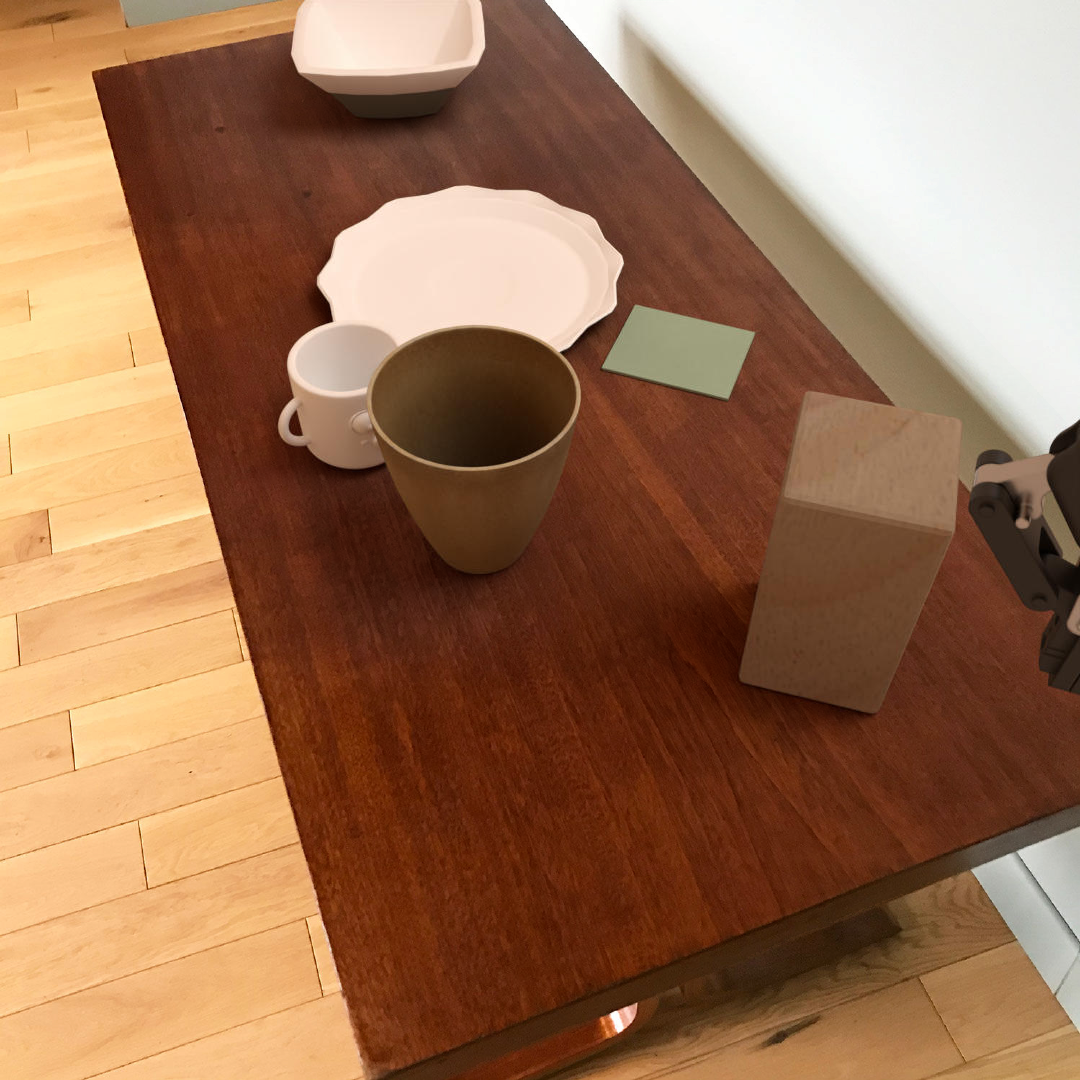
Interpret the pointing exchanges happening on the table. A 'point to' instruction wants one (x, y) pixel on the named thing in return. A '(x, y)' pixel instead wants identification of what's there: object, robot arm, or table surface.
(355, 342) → the mug
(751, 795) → the table surface
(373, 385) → the plant pot
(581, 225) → the plate
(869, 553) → the wooden block
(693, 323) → the mat
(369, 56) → the bowl
